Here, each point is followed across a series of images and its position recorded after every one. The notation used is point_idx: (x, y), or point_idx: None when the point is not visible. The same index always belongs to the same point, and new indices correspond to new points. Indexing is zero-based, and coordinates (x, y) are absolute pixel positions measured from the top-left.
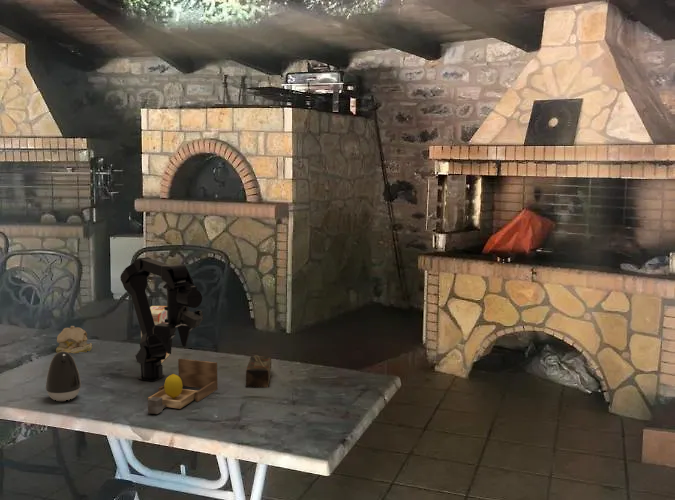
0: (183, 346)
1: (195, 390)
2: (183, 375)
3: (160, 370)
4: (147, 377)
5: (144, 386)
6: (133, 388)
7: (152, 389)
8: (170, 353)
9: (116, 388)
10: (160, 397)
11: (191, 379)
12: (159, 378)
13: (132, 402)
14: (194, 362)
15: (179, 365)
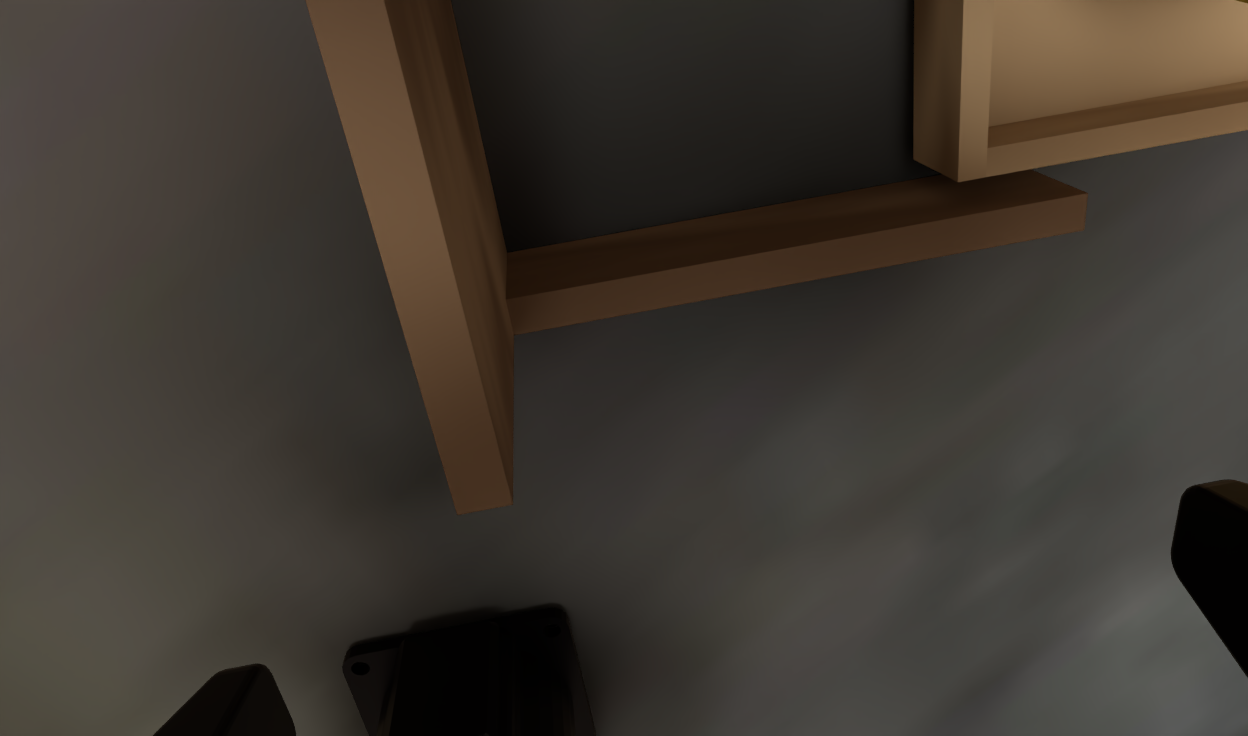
0: (284, 710)
1: None
2: (494, 260)
3: (445, 694)
4: (570, 705)
5: (738, 577)
6: (838, 615)
7: (789, 446)
8: (1199, 485)
9: (896, 721)
10: (1155, 79)
11: (461, 90)
12: (456, 627)
13: (1242, 324)
14: (402, 56)
15: (510, 407)
